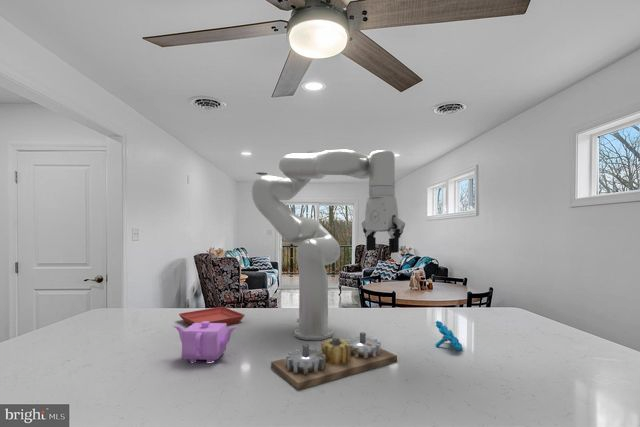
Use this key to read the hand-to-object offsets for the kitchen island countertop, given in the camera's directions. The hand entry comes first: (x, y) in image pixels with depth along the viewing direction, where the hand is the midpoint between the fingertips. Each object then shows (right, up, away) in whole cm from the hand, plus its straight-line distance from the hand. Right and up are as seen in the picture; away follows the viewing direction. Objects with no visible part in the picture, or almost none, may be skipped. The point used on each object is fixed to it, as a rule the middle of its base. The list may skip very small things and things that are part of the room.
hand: (382, 251), depth 103 cm
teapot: (-49, -28, -7) cm, 57 cm away
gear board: (-14, -28, -12) cm, 34 cm away
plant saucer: (-58, -30, +27) cm, 71 cm away
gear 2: (-6, -27, -7) cm, 28 cm away
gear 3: (+20, -29, 0) cm, 35 cm away
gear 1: (-22, -26, -17) cm, 38 cm away
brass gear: (-14, -26, -12) cm, 32 cm away
